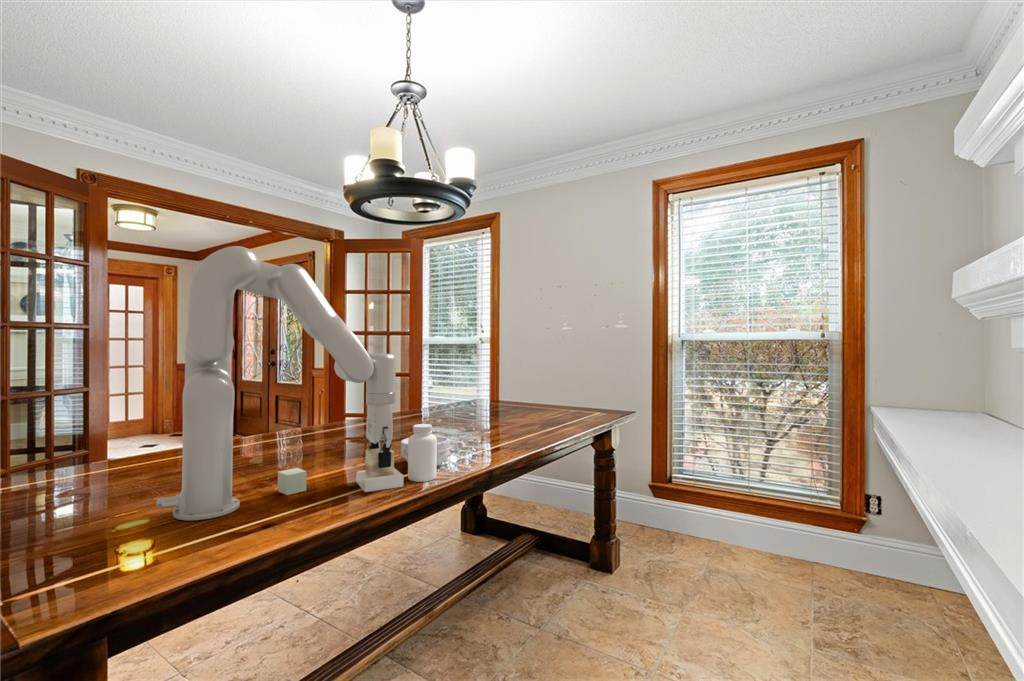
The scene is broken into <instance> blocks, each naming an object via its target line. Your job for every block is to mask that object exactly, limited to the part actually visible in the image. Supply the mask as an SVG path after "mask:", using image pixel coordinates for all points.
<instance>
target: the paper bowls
mask: <svg viewBox="0 0 1024 681" xmlns="http://www.w3.org/2000/svg"><path fill="white" fill-rule="evenodd" d="M435 436H436V439H437V467H438V466H440V465H441V464H443V461H444V460H445V458H446V457H449V456H450V448H451V447H450V445H451V441H450V438H448V437H446V436H442V435H441V436H439V435H435ZM408 440H409V437H406V438H404V439H402V440H401V441H400V457H401V458H403V459H406V462H407V463H408Z"/></svg>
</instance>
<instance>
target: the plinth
mask: <svg viewBox="0 0 1024 681" xmlns="http://www.w3.org/2000/svg"><path fill="white" fill-rule="evenodd" d="M355 477H356V478H355V481H356V482H355V483H356V484H357V485H358V486H359V487H360V488H361V489H362V490H363V492H364V493H369V492H376V491H381V490H383V491H384V490H390V489H395V488H403V487H404V474H402V472H400V471H399V470H398V469H396V468H395V467H394V474H393V475H386V476H378V477H370V476H369V475H368V474H367V473H366V472H365V469H362V470H356V475H355Z"/></svg>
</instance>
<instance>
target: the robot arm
mask: <svg viewBox="0 0 1024 681" xmlns="http://www.w3.org/2000/svg"><path fill="white" fill-rule="evenodd" d="M237 290H240V291H245V292H248V293H253V294H257V295H260V296H265V297H269V298H273V299H277V300H282V301H283V302H284V304H285V305H286V306H287V308H288V309H289V311H290V312H291V313H292V315H294V317H295V319H296V320H297V321H298V323H299V324H300V326H301V327H302V328H303V331H305V332H306V333H307V334H308V335H309V336H310V337H311V338H313V339H314V340H316V341H317V342H319V343H320V345H321V346H323V348H324V349H325V350H326V351H327V352H328V353H329V354H330V355H331V357H332V358H333V359H334V366H333V368H334V372H335V374H336V375H337V376H338V377H339V378H340V379H341V380H343V381H346V382H351V383H356V384H361V383H365V382H366V383H365V384H366V386H365V387H366V392H365V394H366V395H365V401H366V402H365V405H366V406H367V412H366V414H367V415H366V426H365V429H366V430H365V438H366V439H367V440H368V442H369V448H368V449H378V448H379V450H380V452H378V467H379V468H386V467H390V466H391V450H392V442H393V437H394V436H393V434H394V430H393V429H394V424H393V422H394V421H393V420H394V417H393V406H395V405H396V368H397V367H396V364H397V363H396V356H395V355H394V354H392V353H385V352H384V353H382V352H381V353H377V352H376V353H370V354H369V352H368V351H367V350H366V348H365V347H364V345H363V343H362V342H361V341H360V340H359V338H358V337H357V336H356V335H355V333H354V332H353V331H352V330H351V329H350V327H349V326H347V324H346V323H345V322H344V320H343V319H342V318H341V317H340V316H339V315H338V314H337V312H336V311H335V309H334V308H333V307H332V305H331V304H330V303H329V301H328V300H327V298H326V297H325V295H324V294H323V292H322V291H321V290H320V288H319V286H318V285H317V284H316V282H315V281H314V279H313V278H312V276H311V275H310V274H309V273H308V271H307V270H306V269H305V268H304V267H303V266H301V265H299V264H297V263H287V264H282V265H281V266H280V265H278V264H277V265H276V264H273V263H269V262H267V261H263V260H260V259H259V258H258V256H257V255H256V254H255V252H254V251H252V250H251V249H250V248H248V247H245V246H240V245H233V246H226V247H223V248H221V249H218V250H216V251H215V252H213V253H211V254H209V255H208V256H207V257H205V258H204V259H203V260H202V261H201V262H200V264H199V265H198V266H197V268H196V269H195V271H194V273H193V276H192V278H191V282H190V286H189V294H188V307H187V308H188V309H187V310H188V311H187V326H186V327H187V330H186V334H185V335H186V336H185V339H184V345H185V346H184V347H185V350H184V352H185V354H184V356H185V358H184V386H183V388H182V389H183V390H182V440H181V441H182V443H181V444H182V457H181V458H182V460H181V461H182V463H181V465H182V467H181V490H180V493H178V494H175V495H174V496H169V497H168V496H167V497H166V496H165V497H157V498H156V508H161V509H163V510H164V509H170V508H174V509H173V510H172V517H173V518H174V519H176V520H179V521H201V520H202V521H203V520H209V519H215V518H218V517H223V516H226V515H229V514H231V513H233V512H234V511H236V510H238V509H239V507H240V504H241V503H240V502H241V501H240V499H238V498H237V497H233V464H234V463H233V458H234V457H233V456H234V454H233V452H234V450H233V449H234V436H233V435H234V414H235V412H234V410H235V394H236V393H235V386H234V382H233V380H232V362H233V361H232V359H233V358H232V357H233V349H234V346H235V340H234V339H235V338H234V335H233V334H234V333H233V331H234V330H233V322H234V321H233V317H234V313H233V312H234V302H235V300H234V298H235V294H236V291H237Z"/></svg>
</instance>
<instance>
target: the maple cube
mask: <svg viewBox="0 0 1024 681" xmlns="http://www.w3.org/2000/svg"><path fill="white" fill-rule="evenodd" d="M378 452H380V450H379V448H378V449H369V448H368V449H365V469H364V470H365V472H366V473H367V474H368V475H369V476H370V477H378V476H386V475H393V474H394V468H395V451H393V450H392V449H391V466H390V467H386V468H379V467H378Z"/></svg>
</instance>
